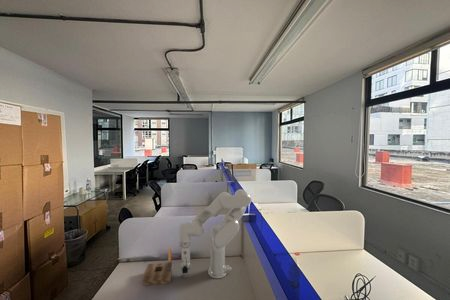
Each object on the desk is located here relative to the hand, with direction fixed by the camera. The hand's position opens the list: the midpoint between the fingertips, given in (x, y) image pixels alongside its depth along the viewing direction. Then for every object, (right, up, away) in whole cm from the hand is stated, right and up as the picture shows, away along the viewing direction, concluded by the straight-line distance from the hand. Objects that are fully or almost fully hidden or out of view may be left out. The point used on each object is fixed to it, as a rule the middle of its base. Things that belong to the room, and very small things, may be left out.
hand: (185, 269), depth 137 cm
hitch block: (-17, -5, -2) cm, 18 cm away
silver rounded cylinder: (0, -5, 0) cm, 5 cm away
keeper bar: (-10, +10, -2) cm, 14 cm away
